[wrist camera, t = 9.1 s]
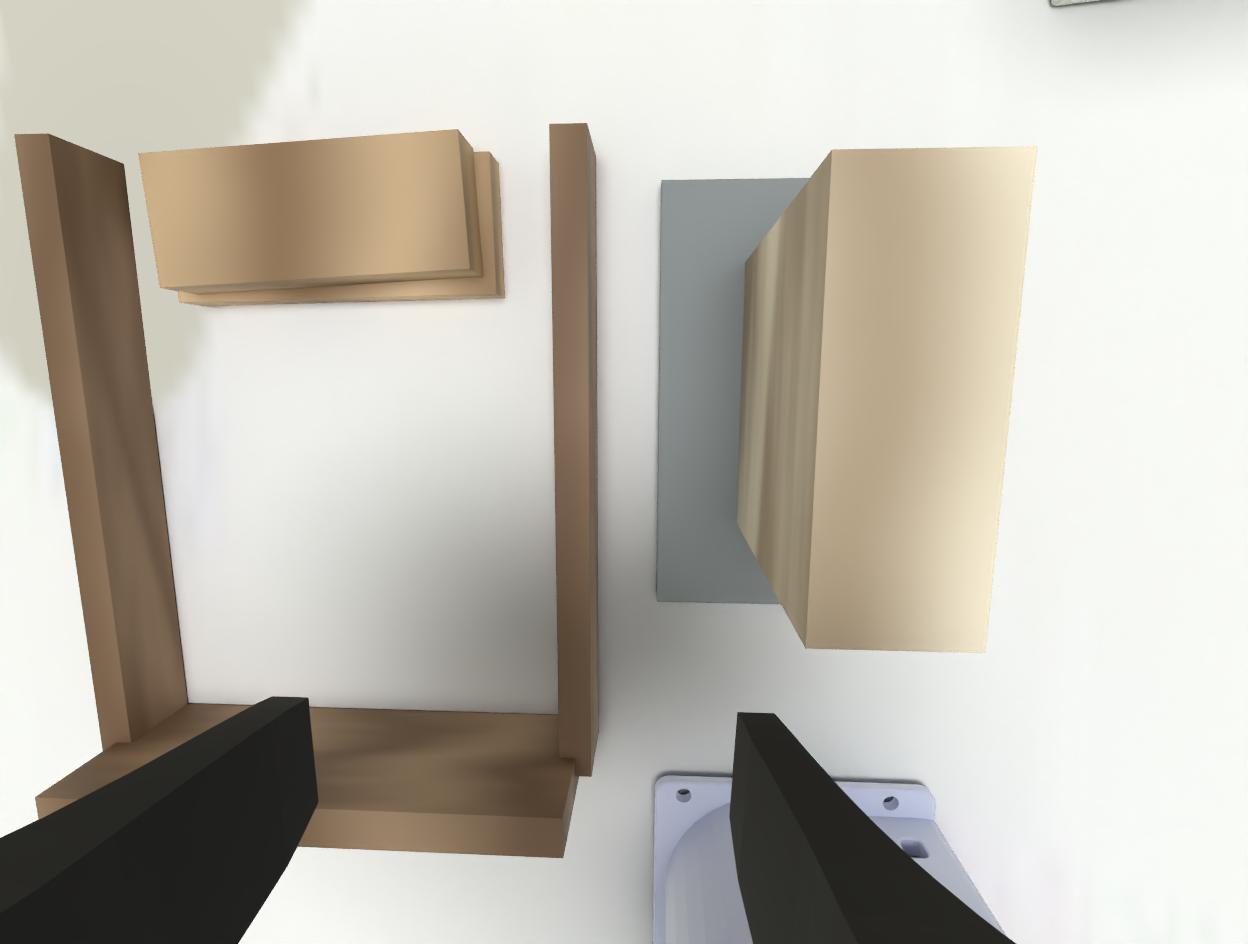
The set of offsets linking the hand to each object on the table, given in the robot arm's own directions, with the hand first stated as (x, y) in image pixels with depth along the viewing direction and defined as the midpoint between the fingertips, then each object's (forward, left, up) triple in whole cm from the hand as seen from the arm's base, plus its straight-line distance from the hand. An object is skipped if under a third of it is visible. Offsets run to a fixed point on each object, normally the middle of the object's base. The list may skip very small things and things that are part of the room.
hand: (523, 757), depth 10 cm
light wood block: (-6, -6, -10) cm, 13 cm away
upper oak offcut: (+8, -11, -9) cm, 16 cm away
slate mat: (-6, -5, -10) cm, 13 cm away
